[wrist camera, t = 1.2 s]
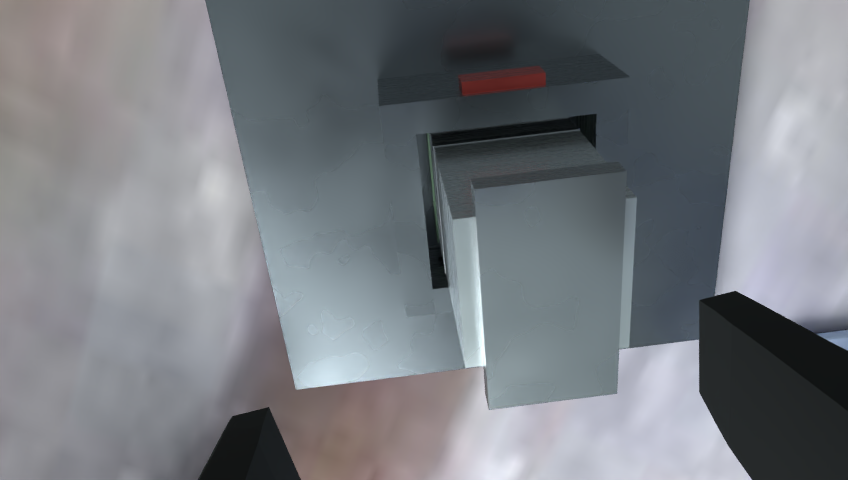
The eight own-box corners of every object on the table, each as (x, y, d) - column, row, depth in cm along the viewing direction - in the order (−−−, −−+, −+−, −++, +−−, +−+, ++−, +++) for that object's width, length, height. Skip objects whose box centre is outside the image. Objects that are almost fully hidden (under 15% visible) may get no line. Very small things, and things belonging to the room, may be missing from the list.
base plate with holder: (744, -130, 18) (825, -132, 15) (696, 321, 24) (745, 385, 21) (198, -70, 17) (162, -60, 14) (298, 371, 24) (288, 443, 21)
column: (556, 73, 19) (651, 168, 13) (557, 241, 21) (637, 390, 15) (421, 88, 19) (449, 192, 12) (438, 256, 21) (468, 412, 15)
